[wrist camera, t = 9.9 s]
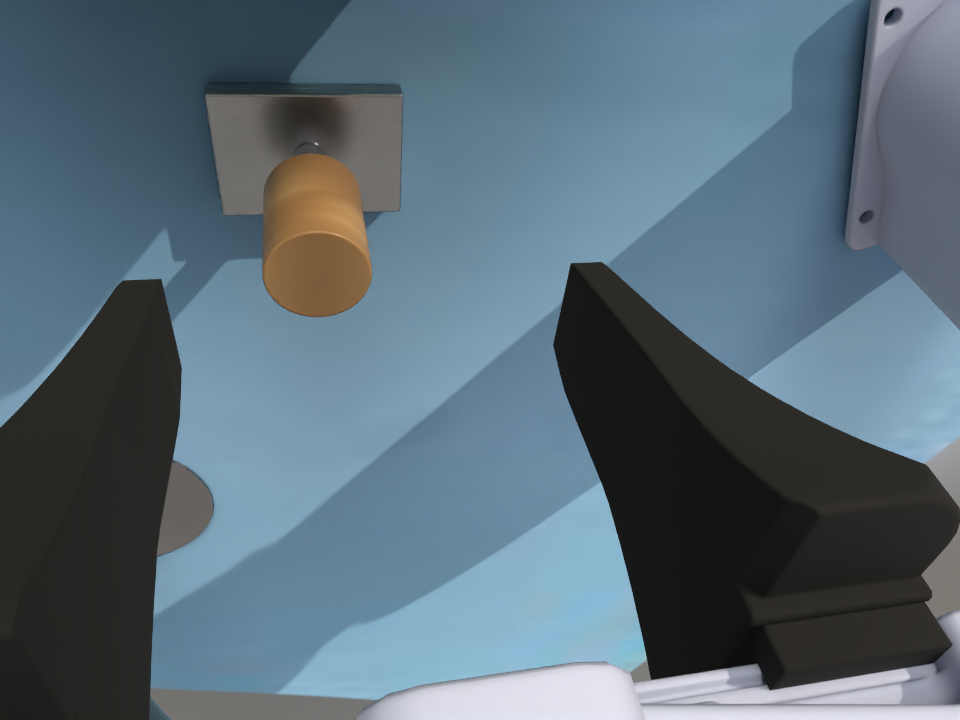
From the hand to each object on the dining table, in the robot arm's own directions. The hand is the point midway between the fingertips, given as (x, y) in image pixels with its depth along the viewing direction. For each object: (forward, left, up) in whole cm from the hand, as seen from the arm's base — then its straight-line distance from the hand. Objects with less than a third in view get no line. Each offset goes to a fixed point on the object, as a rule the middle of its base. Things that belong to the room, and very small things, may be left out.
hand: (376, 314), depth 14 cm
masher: (-1, +1, -9) cm, 9 cm away
